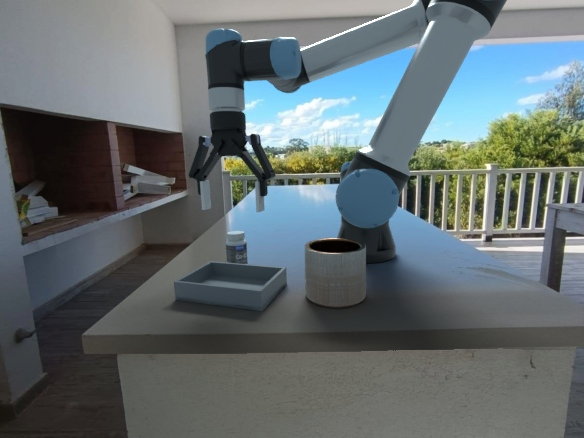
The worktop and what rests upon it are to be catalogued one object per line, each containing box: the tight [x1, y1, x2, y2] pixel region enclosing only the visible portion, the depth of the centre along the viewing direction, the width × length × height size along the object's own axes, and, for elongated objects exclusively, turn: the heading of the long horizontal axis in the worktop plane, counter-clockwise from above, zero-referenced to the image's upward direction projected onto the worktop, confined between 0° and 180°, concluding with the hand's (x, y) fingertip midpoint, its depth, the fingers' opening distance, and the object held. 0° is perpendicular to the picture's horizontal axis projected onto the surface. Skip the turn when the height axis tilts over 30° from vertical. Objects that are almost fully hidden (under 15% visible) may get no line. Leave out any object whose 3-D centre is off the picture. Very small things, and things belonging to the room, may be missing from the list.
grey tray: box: [173, 260, 288, 312], centre depth 64 cm, size 17×12×4 cm
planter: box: [304, 237, 367, 309], centre depth 60 cm, size 11×11×10 cm
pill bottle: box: [225, 230, 248, 264], centre depth 77 cm, size 5×5×8 cm
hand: (232, 210), depth 75 cm, fingers open, 13 cm apart
